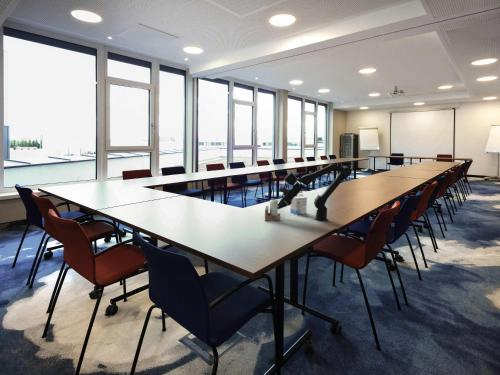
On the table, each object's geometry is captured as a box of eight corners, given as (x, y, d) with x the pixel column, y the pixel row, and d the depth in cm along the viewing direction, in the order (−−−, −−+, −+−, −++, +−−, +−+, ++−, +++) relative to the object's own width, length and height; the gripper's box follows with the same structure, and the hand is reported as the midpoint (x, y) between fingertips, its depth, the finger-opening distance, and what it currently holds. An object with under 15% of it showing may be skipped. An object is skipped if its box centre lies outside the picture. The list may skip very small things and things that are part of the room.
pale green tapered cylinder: (279, 218, 200) (279, 200, 198) (272, 219, 197) (272, 201, 196) (274, 217, 204) (274, 199, 203) (268, 218, 202) (268, 200, 200)
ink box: (296, 214, 212) (296, 195, 210) (290, 212, 219) (290, 193, 217) (306, 213, 215) (307, 194, 213) (300, 211, 223) (300, 192, 221)
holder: (280, 216, 207) (280, 206, 206) (280, 221, 194) (280, 210, 193) (266, 215, 208) (266, 205, 207) (264, 220, 195) (265, 209, 194)
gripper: (285, 179, 206) (269, 196, 208) (286, 183, 187) (268, 201, 190) (297, 191, 206) (281, 207, 209) (299, 196, 188) (281, 213, 190)
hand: (277, 207), depth 199 cm, fingers open, 9 cm apart
